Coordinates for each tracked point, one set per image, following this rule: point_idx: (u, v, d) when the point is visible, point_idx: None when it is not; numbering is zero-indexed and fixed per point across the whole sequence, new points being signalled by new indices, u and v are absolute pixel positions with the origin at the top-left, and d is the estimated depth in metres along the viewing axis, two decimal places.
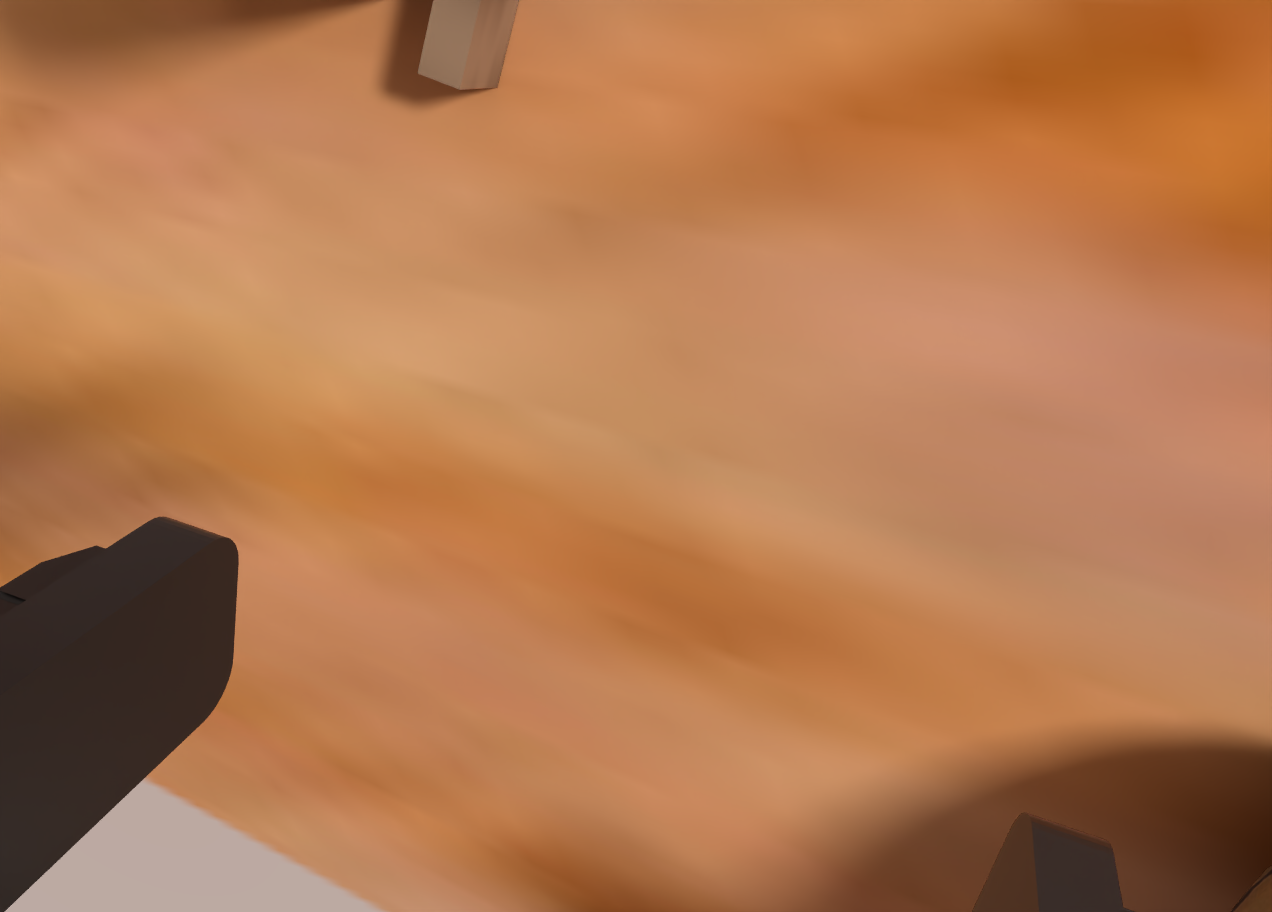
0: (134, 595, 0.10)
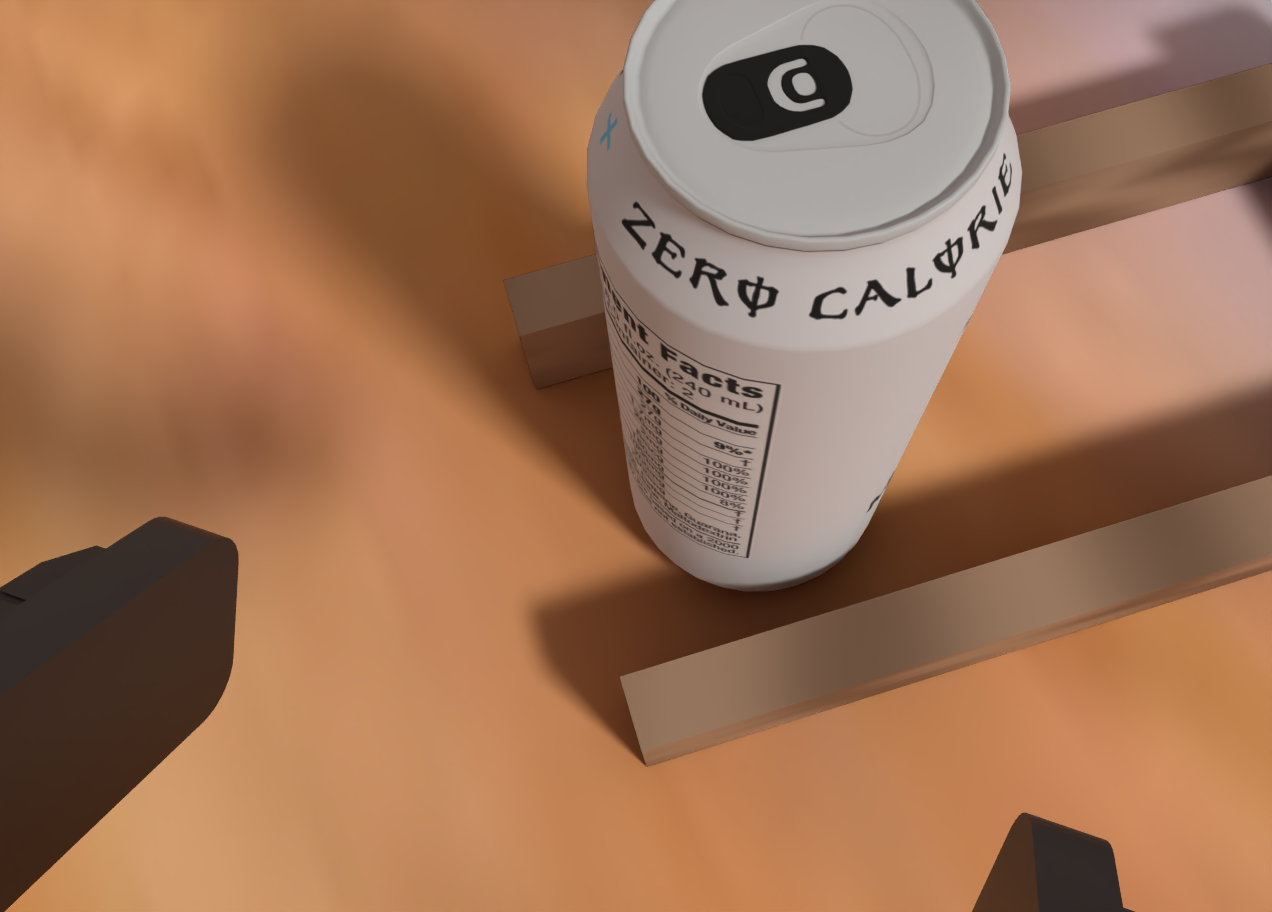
0: (134, 595, 0.10)
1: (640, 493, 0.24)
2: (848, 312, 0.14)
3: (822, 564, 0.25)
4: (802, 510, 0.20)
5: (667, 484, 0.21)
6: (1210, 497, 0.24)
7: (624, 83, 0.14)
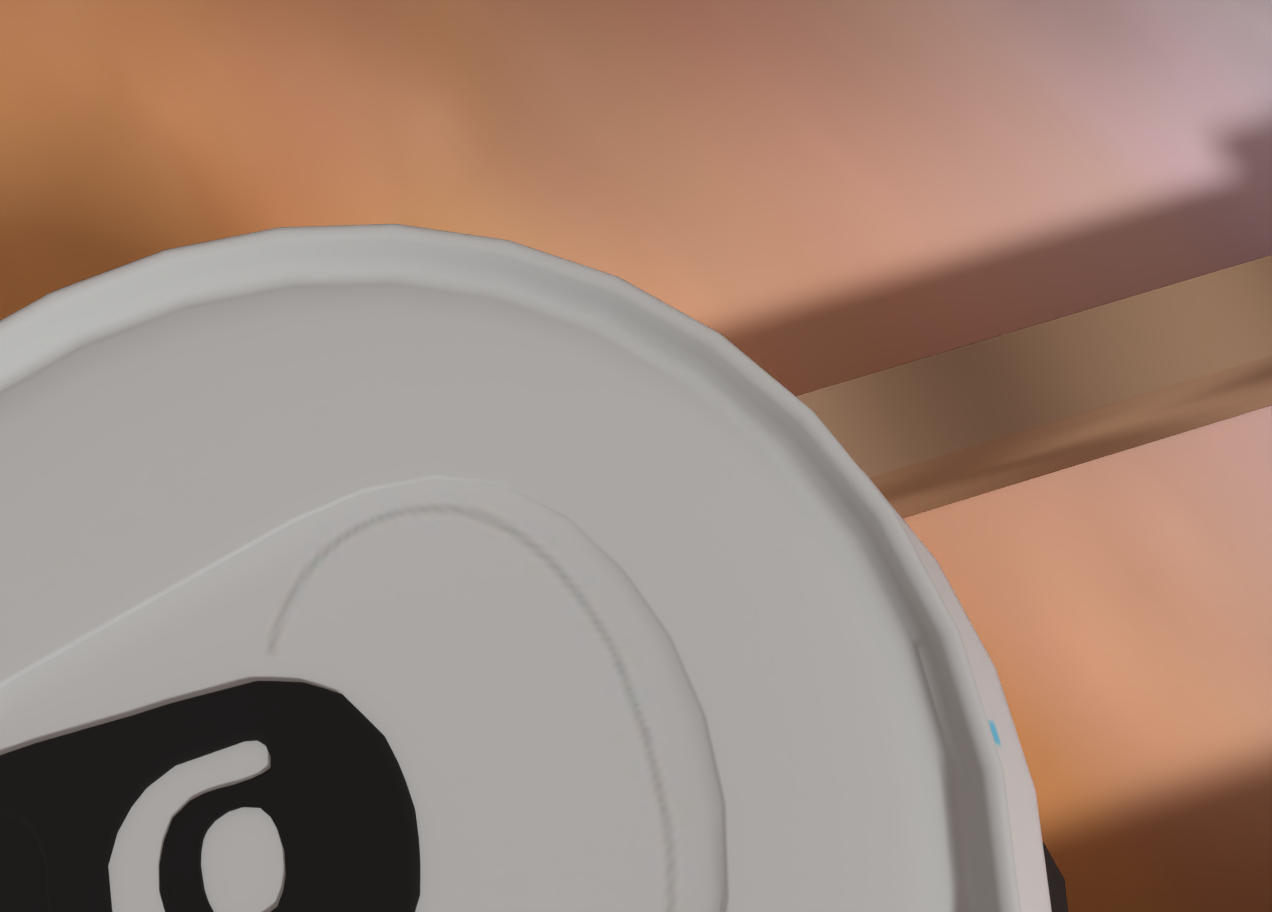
0: None
1: None
2: None
3: None
4: None
5: None
6: None
7: None
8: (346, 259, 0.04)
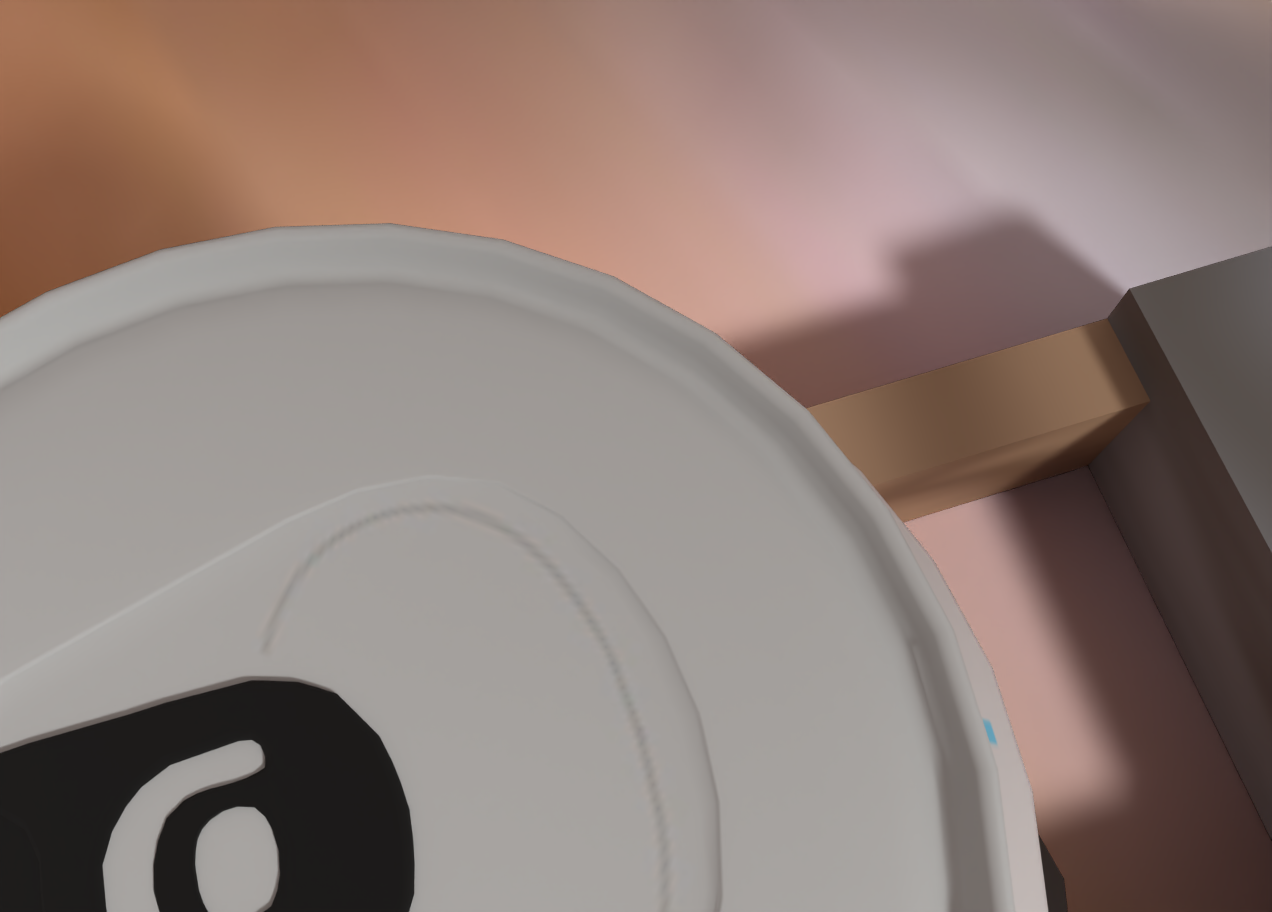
0: None
1: None
2: None
3: None
4: None
5: None
6: None
7: None
8: (343, 257, 0.04)
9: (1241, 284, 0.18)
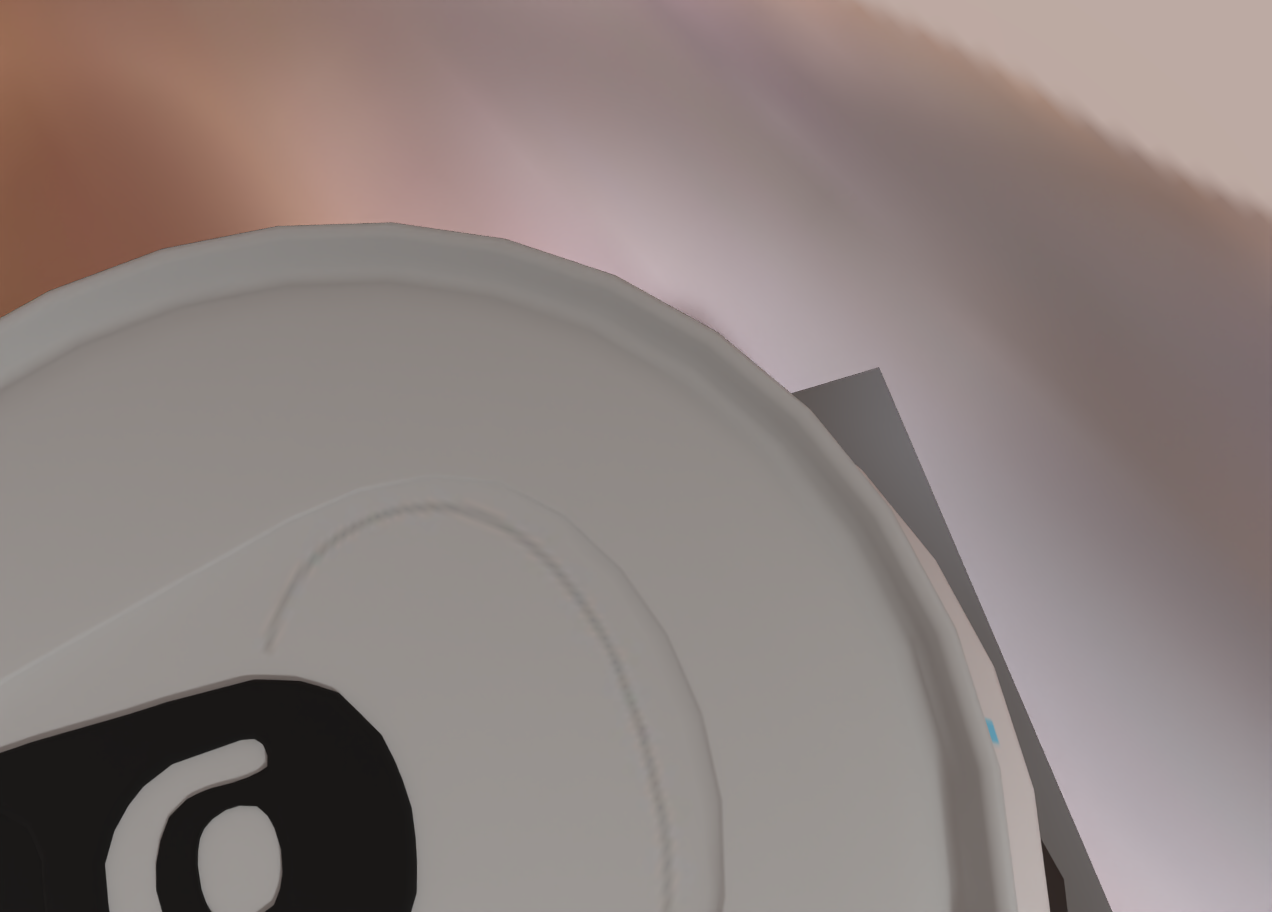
0: None
1: None
2: None
3: None
4: None
5: None
6: None
7: None
8: (343, 257, 0.04)
9: None
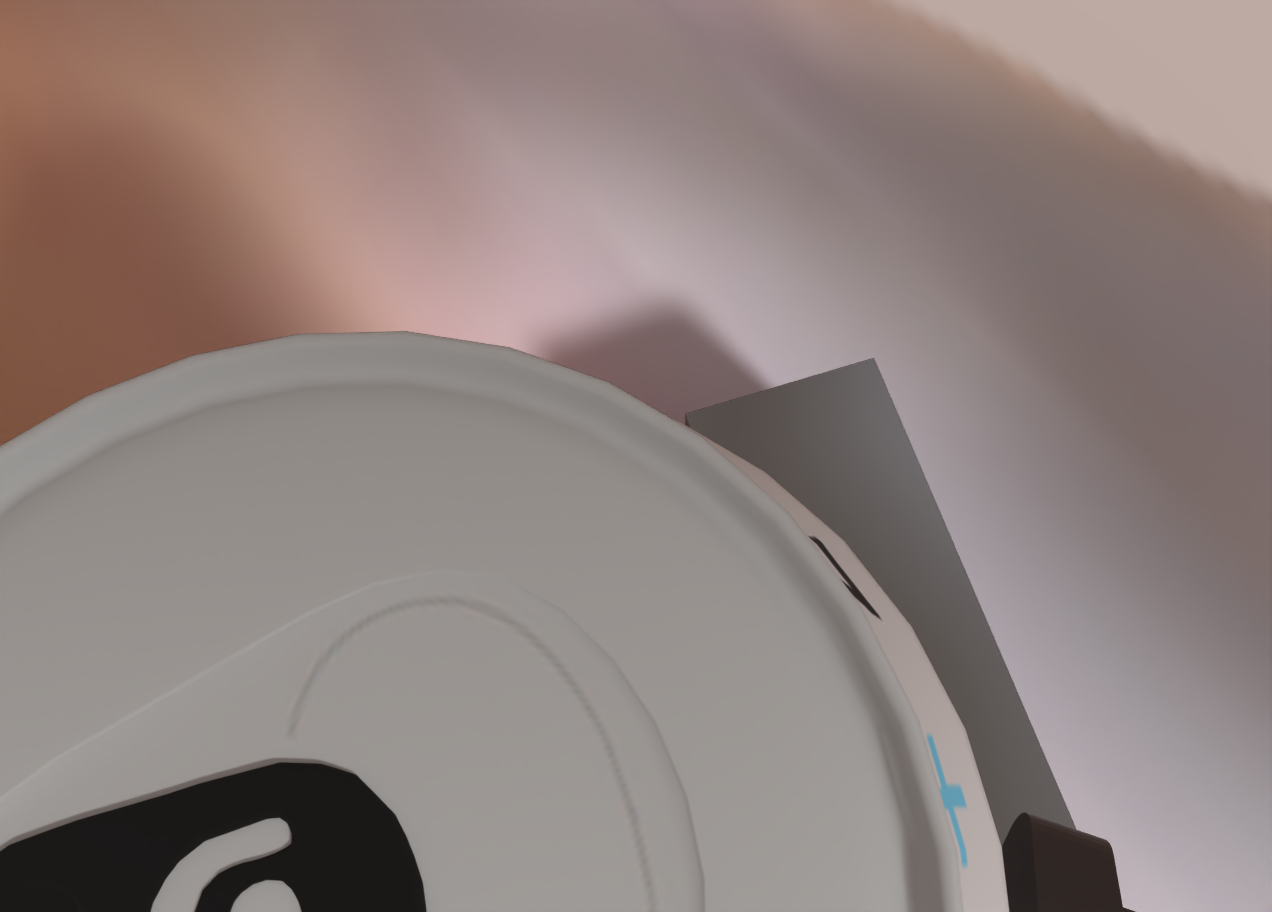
0: None
1: None
2: None
3: None
4: None
5: None
6: None
7: None
8: (359, 360, 0.05)
9: (803, 409, 0.17)
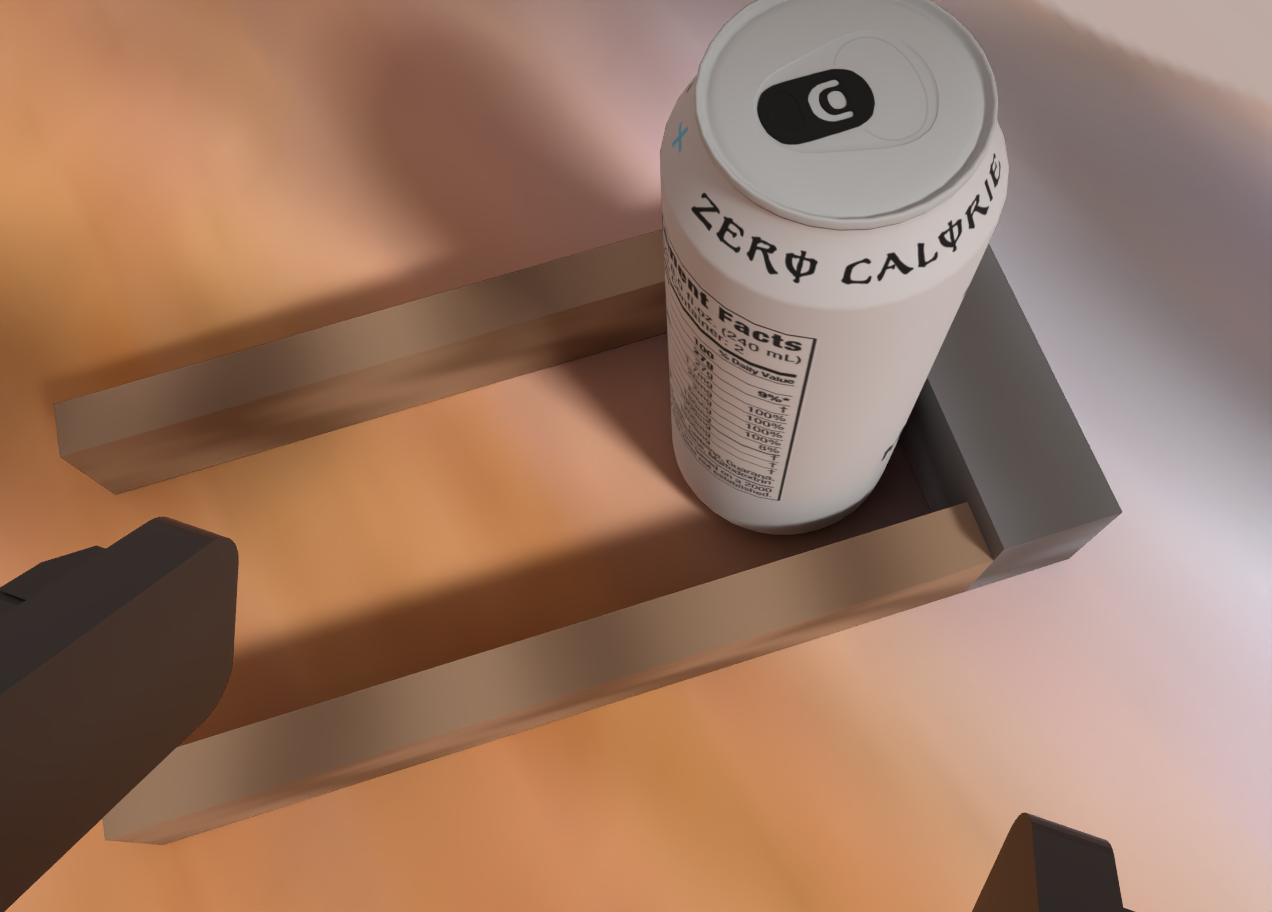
0: (134, 595, 0.10)
1: (685, 447, 0.28)
2: (872, 279, 0.18)
3: (842, 509, 0.29)
4: (828, 453, 0.24)
5: (713, 434, 0.25)
6: (638, 607, 0.27)
7: (696, 99, 0.18)
8: None
9: None
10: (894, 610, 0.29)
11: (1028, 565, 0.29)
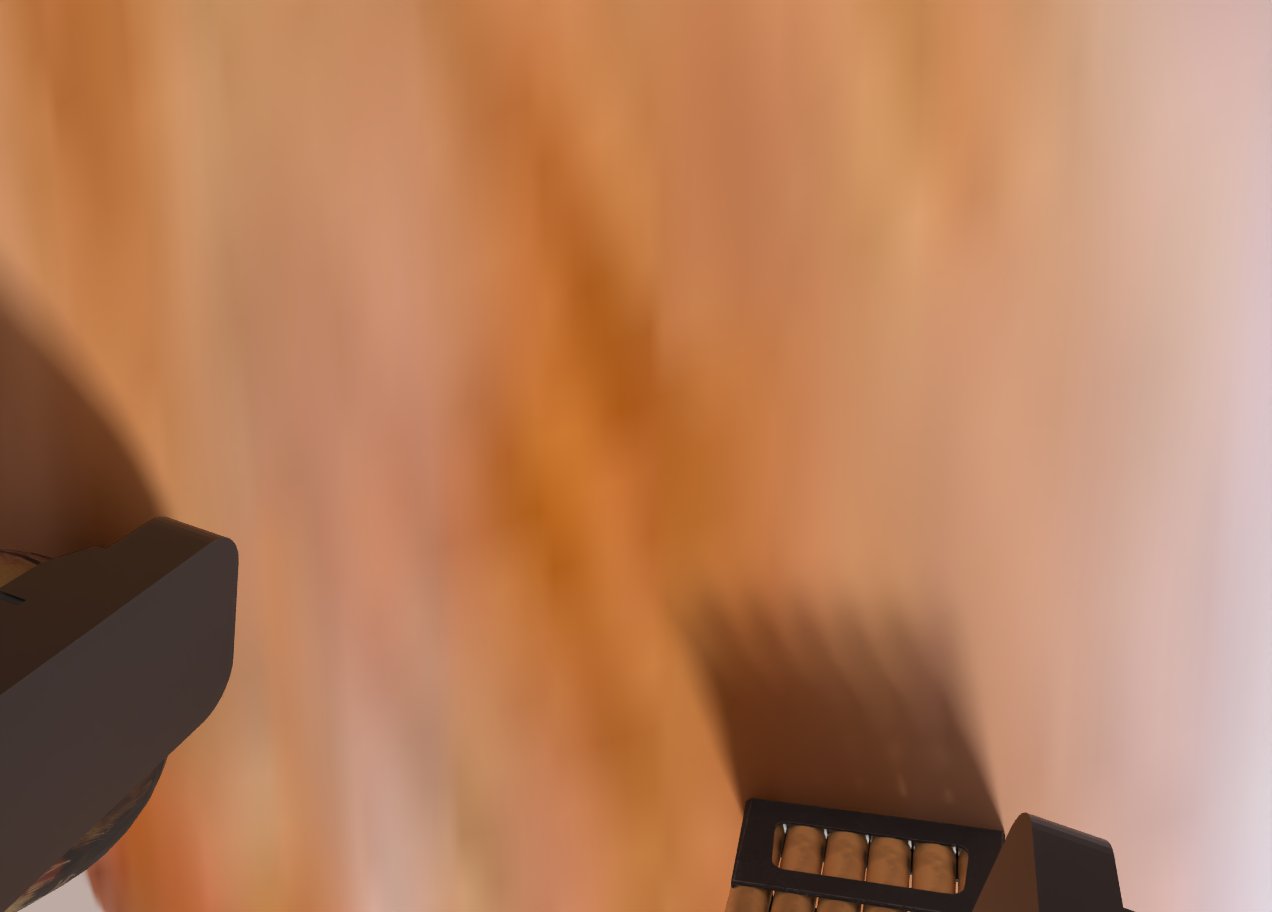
0: (134, 595, 0.10)
1: None
2: None
3: None
4: None
5: None
6: None
7: None
8: None
9: None
10: None
11: None
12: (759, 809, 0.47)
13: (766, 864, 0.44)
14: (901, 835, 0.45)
